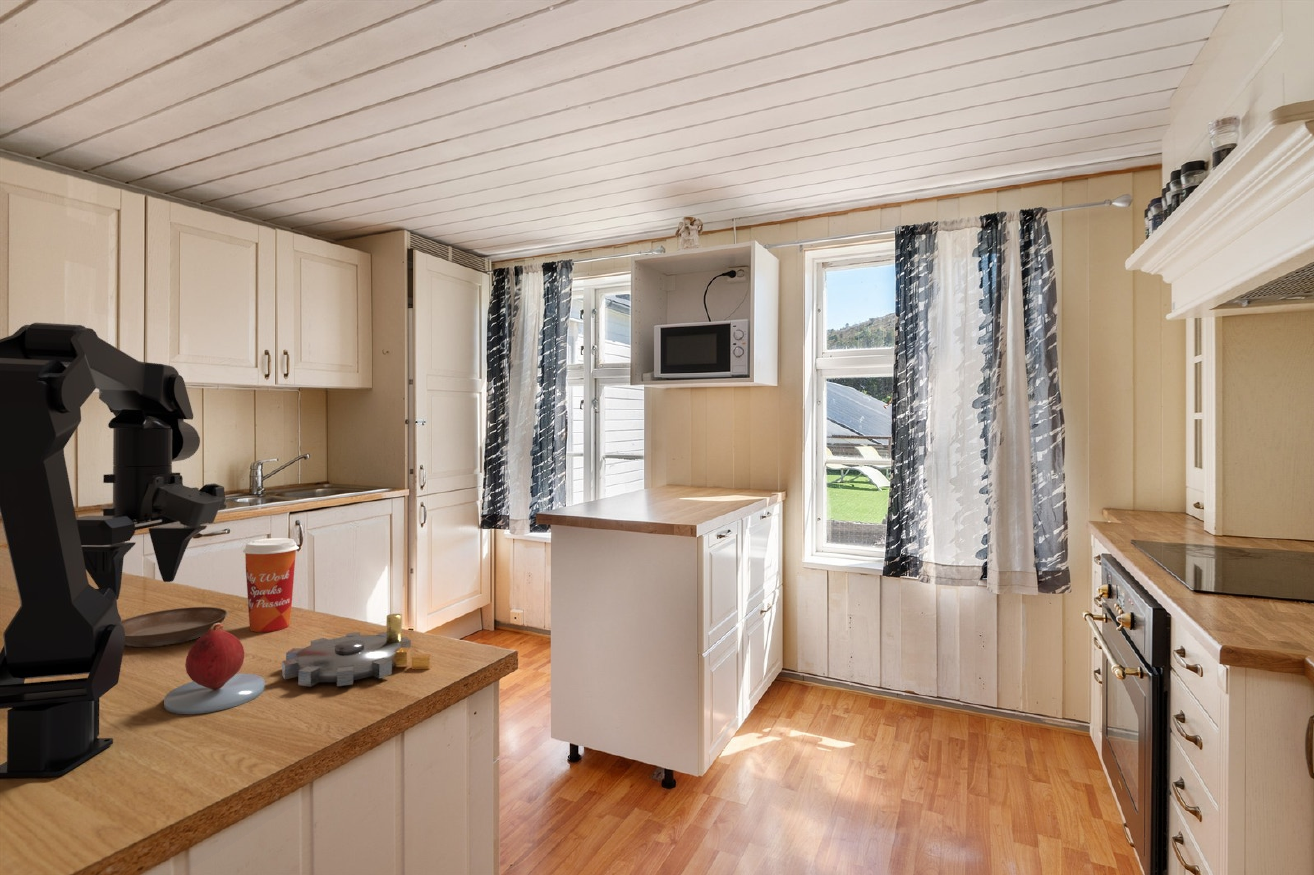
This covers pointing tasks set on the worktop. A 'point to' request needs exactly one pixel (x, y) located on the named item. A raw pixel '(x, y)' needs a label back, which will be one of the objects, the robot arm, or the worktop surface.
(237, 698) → the coaster
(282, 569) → the paper cup
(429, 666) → the wooden toy brick
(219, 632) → the onion
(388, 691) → the worktop surface
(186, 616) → the saucer
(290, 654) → the sprocket
